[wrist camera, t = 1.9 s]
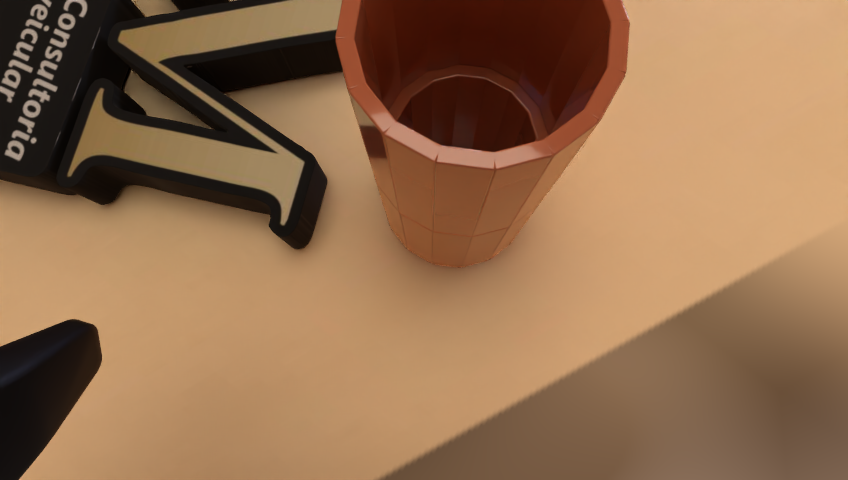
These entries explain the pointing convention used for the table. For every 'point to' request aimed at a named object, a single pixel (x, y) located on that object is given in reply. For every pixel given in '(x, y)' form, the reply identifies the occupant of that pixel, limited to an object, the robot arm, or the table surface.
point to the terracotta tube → (476, 109)
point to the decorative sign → (176, 78)
